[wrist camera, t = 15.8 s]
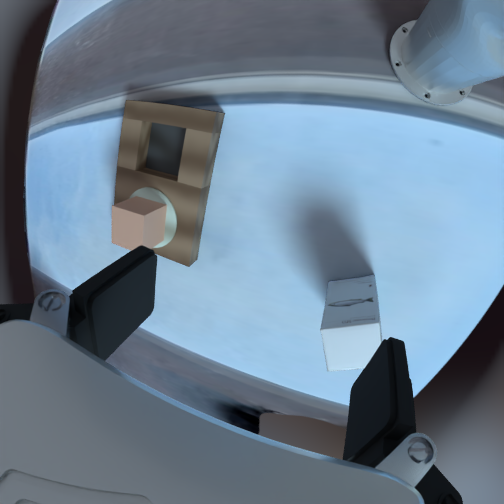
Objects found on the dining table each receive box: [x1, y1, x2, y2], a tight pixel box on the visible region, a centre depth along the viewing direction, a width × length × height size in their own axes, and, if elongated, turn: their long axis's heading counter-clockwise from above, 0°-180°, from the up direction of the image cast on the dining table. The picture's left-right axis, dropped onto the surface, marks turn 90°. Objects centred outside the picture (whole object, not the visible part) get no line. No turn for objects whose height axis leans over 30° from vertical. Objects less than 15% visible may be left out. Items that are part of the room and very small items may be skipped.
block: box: [112, 196, 167, 251], centre depth 43 cm, size 6×6×6 cm
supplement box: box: [320, 275, 382, 371], centre depth 39 cm, size 7×7×13 cm
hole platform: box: [114, 100, 225, 267], centre depth 44 cm, size 24×16×3 cm, turn 167°
